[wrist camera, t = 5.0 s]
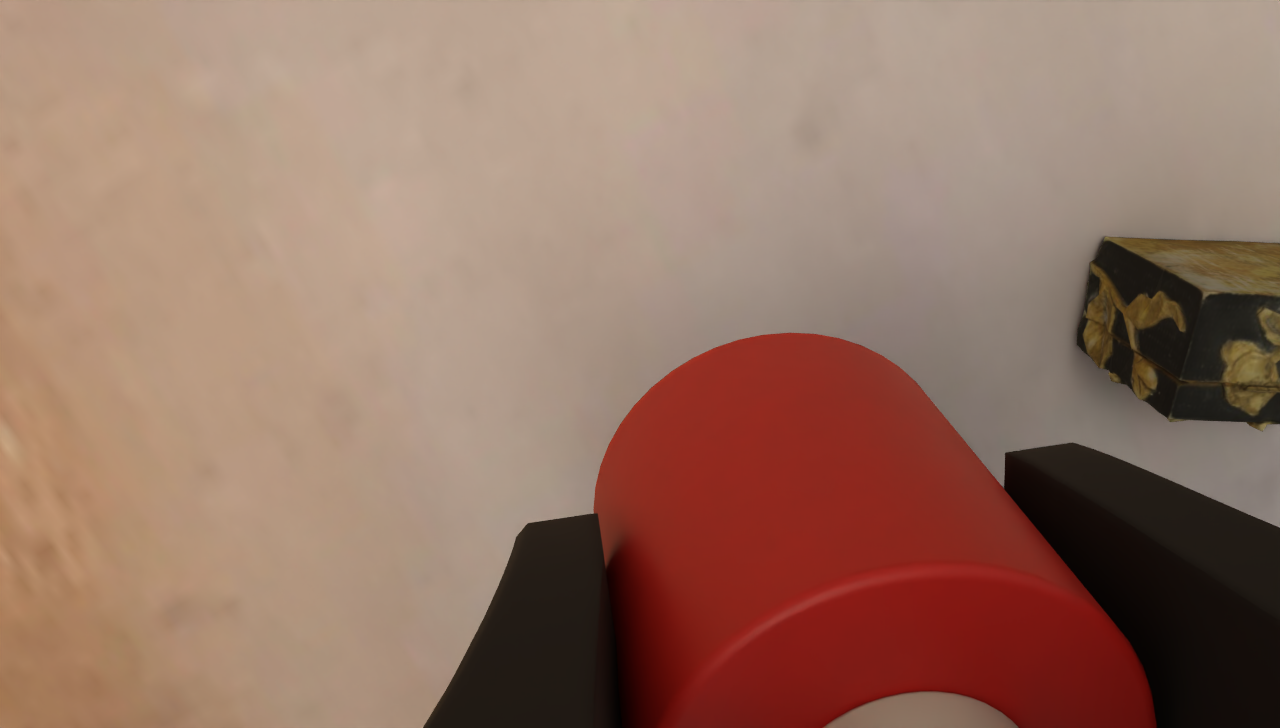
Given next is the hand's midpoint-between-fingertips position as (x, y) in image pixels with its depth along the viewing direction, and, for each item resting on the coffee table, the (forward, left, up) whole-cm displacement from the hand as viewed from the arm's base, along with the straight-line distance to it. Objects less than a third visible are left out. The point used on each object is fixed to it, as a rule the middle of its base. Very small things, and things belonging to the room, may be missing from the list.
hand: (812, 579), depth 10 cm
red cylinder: (0, 0, -1) cm, 1 cm away
